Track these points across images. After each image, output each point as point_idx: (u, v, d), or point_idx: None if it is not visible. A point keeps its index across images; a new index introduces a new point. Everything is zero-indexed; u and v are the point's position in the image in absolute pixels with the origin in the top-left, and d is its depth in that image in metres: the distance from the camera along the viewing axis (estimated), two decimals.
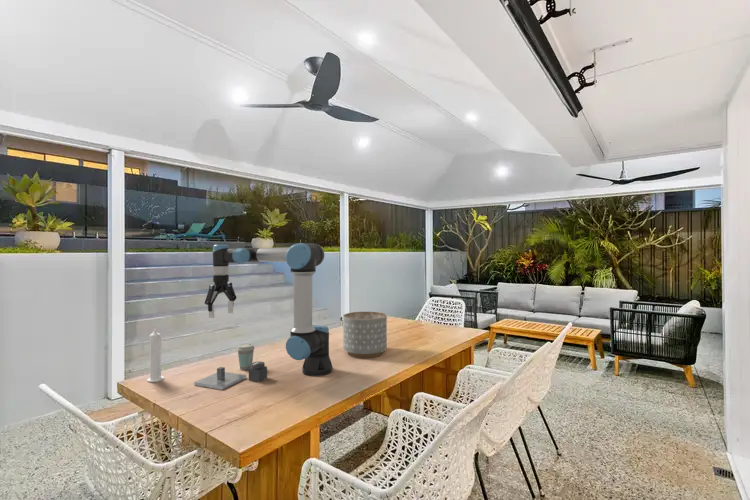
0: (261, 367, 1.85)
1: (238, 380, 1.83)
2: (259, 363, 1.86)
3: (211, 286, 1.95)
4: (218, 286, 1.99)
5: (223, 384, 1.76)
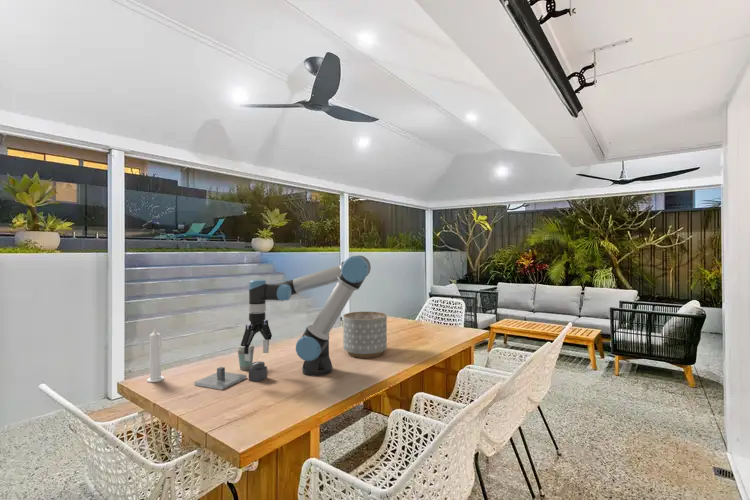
0: (261, 367, 1.85)
1: (238, 380, 1.83)
2: (259, 363, 1.86)
3: (248, 326, 1.80)
4: (255, 326, 1.83)
5: (223, 384, 1.76)
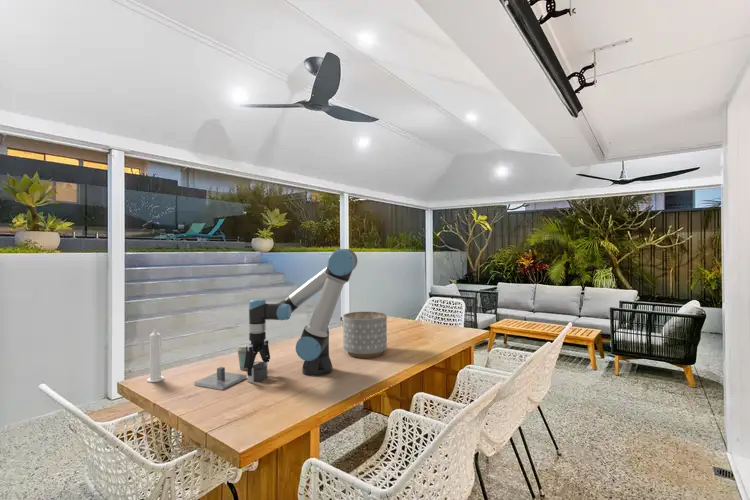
0: (261, 367, 1.85)
1: (238, 380, 1.83)
2: (259, 363, 1.86)
3: (248, 348, 1.80)
4: (255, 345, 1.83)
5: (223, 384, 1.76)
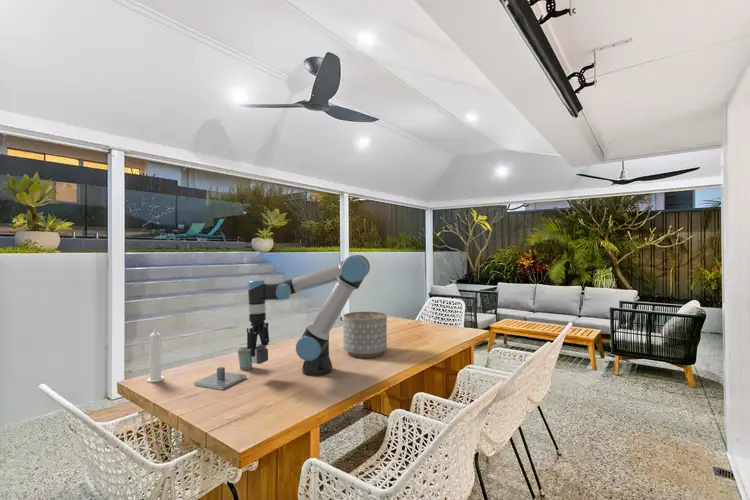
0: (262, 349, 1.84)
1: (238, 380, 1.83)
2: (260, 345, 1.86)
3: (249, 330, 1.80)
4: (255, 326, 1.83)
5: (223, 384, 1.76)
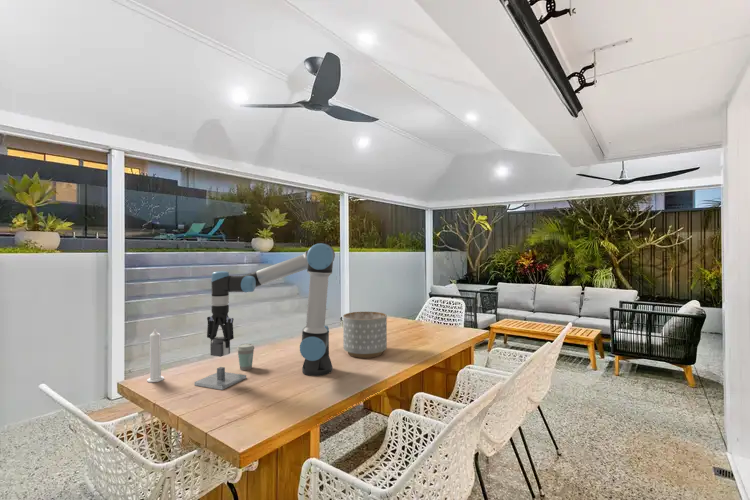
0: (213, 342, 1.81)
1: (238, 380, 1.83)
2: (219, 338, 1.82)
3: None
4: (213, 317, 1.83)
5: (223, 384, 1.76)
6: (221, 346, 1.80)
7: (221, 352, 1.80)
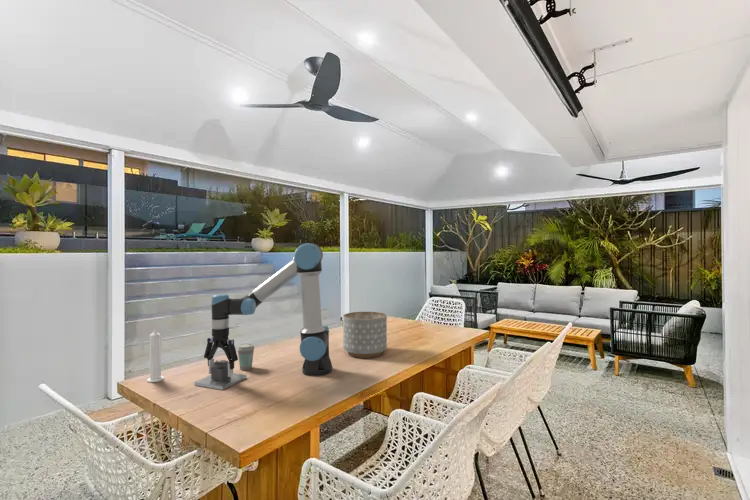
0: (214, 366, 1.81)
1: (238, 380, 1.83)
2: (220, 362, 1.82)
3: None
4: (213, 340, 1.83)
5: (223, 384, 1.76)
6: (222, 371, 1.80)
7: (222, 377, 1.80)
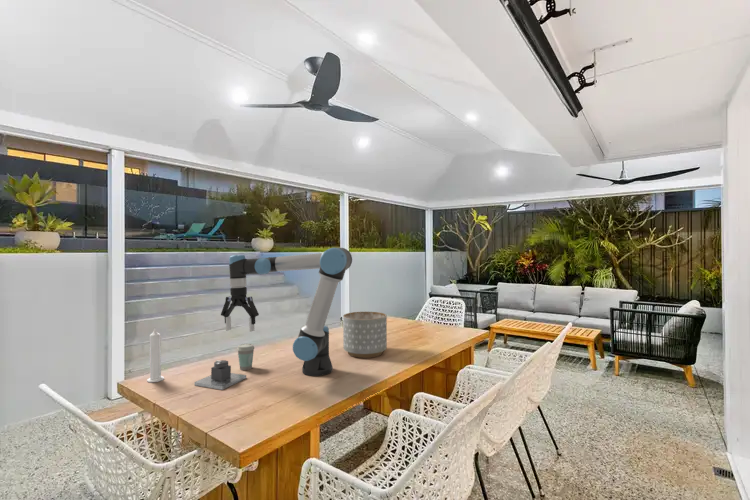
0: (214, 366, 1.81)
1: (238, 380, 1.83)
2: (220, 362, 1.82)
3: None
4: (232, 299, 1.90)
5: (223, 384, 1.76)
6: (222, 371, 1.80)
7: (222, 377, 1.80)
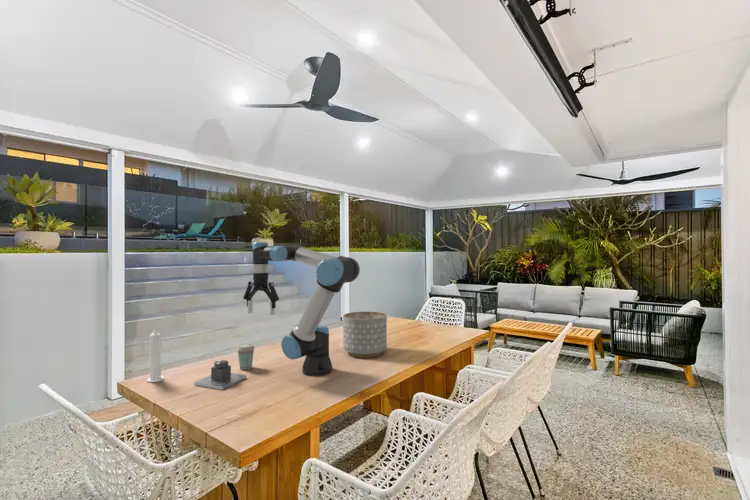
0: (214, 366, 1.81)
1: (238, 380, 1.83)
2: (220, 362, 1.82)
3: None
4: (254, 283, 2.00)
5: (223, 384, 1.76)
6: (222, 371, 1.80)
7: (222, 377, 1.80)
